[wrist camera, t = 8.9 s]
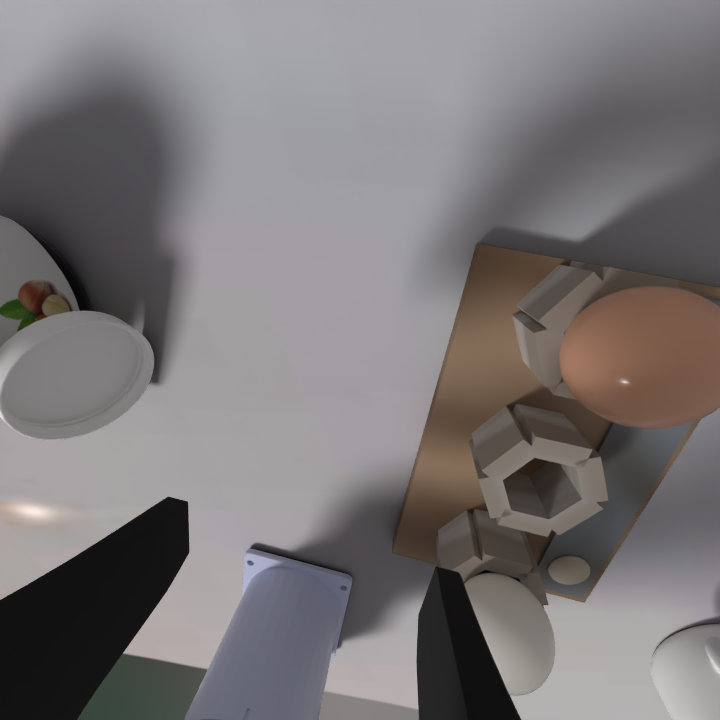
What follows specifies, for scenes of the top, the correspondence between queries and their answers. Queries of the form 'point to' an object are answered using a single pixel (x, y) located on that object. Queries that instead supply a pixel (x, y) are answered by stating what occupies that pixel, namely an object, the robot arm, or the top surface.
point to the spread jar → (60, 346)
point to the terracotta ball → (645, 357)
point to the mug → (689, 673)
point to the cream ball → (513, 630)
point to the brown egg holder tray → (529, 436)
